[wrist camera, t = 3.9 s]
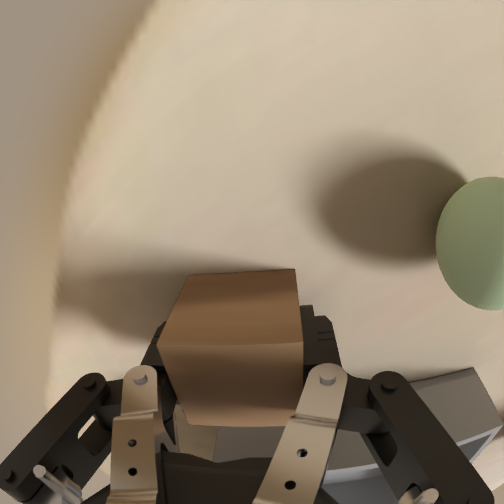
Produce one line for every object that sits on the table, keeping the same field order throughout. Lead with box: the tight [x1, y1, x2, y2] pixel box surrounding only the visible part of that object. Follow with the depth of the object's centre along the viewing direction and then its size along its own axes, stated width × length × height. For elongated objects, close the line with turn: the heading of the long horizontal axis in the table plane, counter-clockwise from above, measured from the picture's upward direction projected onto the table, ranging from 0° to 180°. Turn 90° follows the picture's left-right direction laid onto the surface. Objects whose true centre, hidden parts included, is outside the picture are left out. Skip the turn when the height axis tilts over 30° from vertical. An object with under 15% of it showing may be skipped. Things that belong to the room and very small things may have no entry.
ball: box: [436, 177, 504, 310], centre depth 9 cm, size 5×5×5 cm
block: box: [156, 269, 303, 427], centre depth 12 cm, size 4×4×4 cm
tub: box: [213, 368, 504, 504], centre depth 16 cm, size 14×16×5 cm
